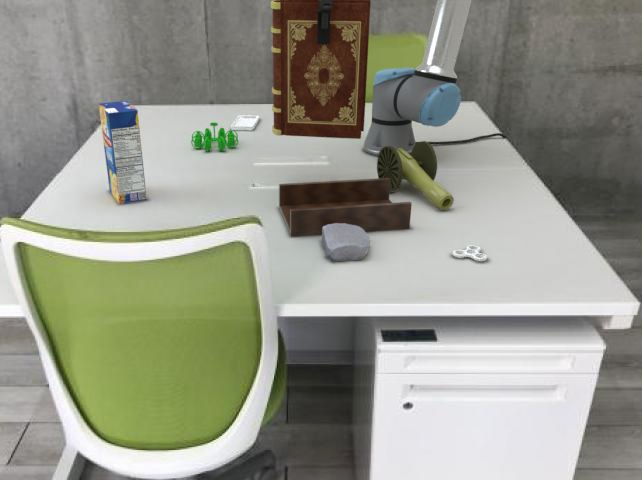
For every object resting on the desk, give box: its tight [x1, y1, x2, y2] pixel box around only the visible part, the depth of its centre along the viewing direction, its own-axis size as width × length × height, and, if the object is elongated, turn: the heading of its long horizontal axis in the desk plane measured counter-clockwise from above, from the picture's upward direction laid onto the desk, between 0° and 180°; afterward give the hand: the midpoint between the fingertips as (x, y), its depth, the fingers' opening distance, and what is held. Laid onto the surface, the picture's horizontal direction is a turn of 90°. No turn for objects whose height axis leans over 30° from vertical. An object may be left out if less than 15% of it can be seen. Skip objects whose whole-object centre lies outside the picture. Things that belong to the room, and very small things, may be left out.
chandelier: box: [190, 122, 239, 153], centre depth 219 cm, size 15×15×7 cm
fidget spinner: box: [451, 244, 488, 262], centre depth 150 cm, size 7×6×1 cm
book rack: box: [278, 177, 413, 237], centre depth 167 cm, size 27×18×6 cm, turn 98°
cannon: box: [376, 140, 455, 211], centre depth 179 cm, size 25×12×11 cm, turn 23°
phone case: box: [230, 114, 261, 131], centre depth 242 cm, size 7×1×15 cm
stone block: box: [321, 223, 371, 262], centre depth 152 cm, size 12×5×10 cm
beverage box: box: [98, 100, 148, 205], centre depth 178 cm, size 7×11×22 cm, turn 24°
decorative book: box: [270, 0, 371, 140], centre depth 172 cm, size 22×8×30 cm, turn 78°
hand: (319, 40), depth 169 cm, fingers closed on decorative book, 9 cm apart
